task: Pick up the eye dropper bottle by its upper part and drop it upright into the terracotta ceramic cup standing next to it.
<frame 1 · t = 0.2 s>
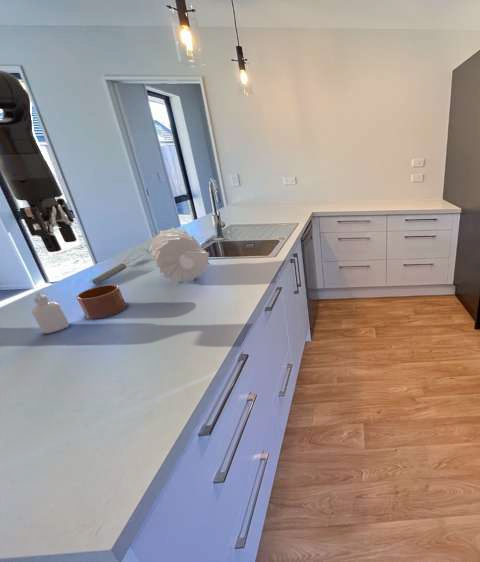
hand: (63, 246, 73), 27 cm above the worktop, tool pointing down, fingers open, 8 cm apart
spiral staircase: (185, 274, 126), on the worktop
kitchen whisk: (126, 271, 131), on the worktop
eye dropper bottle: (57, 329, 89), on the worktop
cup: (106, 310, 98), on the worktop
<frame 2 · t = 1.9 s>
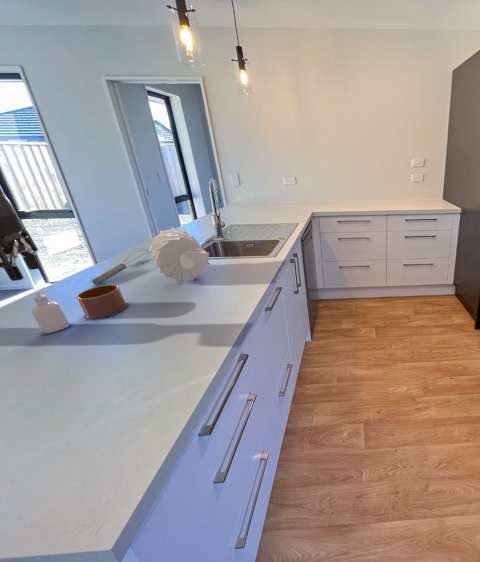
hand: (27, 274, 81), 18 cm above the worktop, tool pointing down, fingers open, 8 cm apart
nothing on the worktop moved.
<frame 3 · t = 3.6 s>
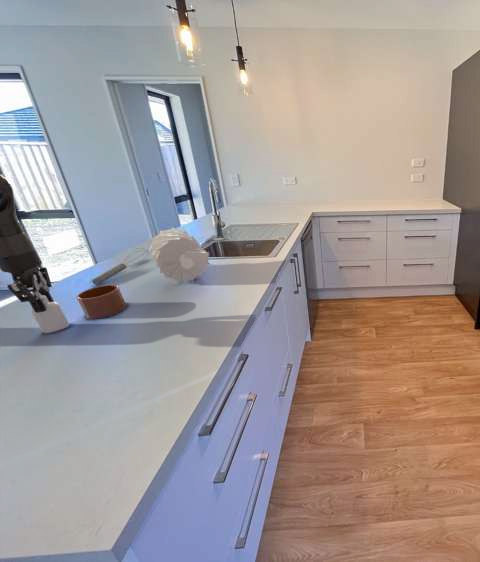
hand: (45, 307, 86), 7 cm above the worktop, tool pointing down, fingers closed on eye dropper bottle, 4 cm apart
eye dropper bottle: (57, 329, 89), on the worktop, touching gripper
everything else where it was.
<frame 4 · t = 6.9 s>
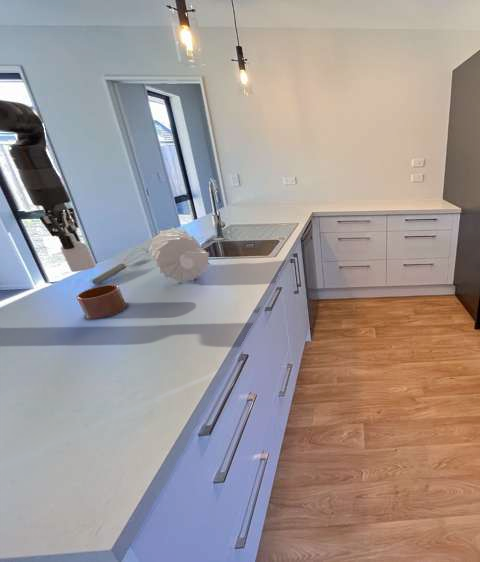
hand: (73, 246, 88), 22 cm above the worktop, tool pointing down, fingers closed on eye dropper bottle, 4 cm apart
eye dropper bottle: (84, 269, 91), point 15 cm above the worktop, touching gripper
everything else where it was.
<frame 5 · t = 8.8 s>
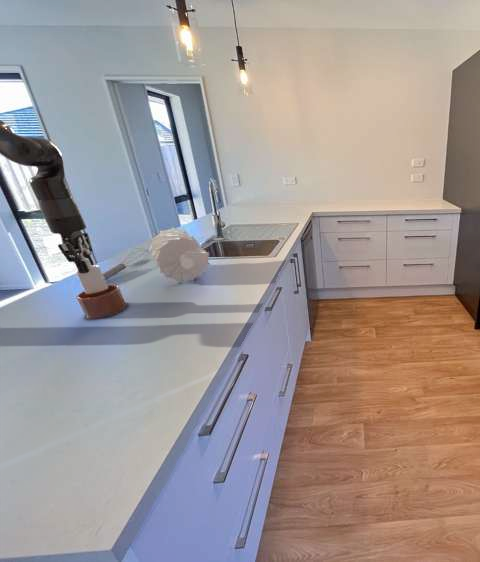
hand: (87, 269, 92), 14 cm above the worktop, tool pointing down, fingers closed on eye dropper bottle, 4 cm apart
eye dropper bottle: (97, 291, 95), point 7 cm above the worktop, touching gripper
everything else where it was.
when the fingers open (12 cm above the worktop, at t = 10.0 s): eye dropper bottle drops 3 cm, resting on cup.
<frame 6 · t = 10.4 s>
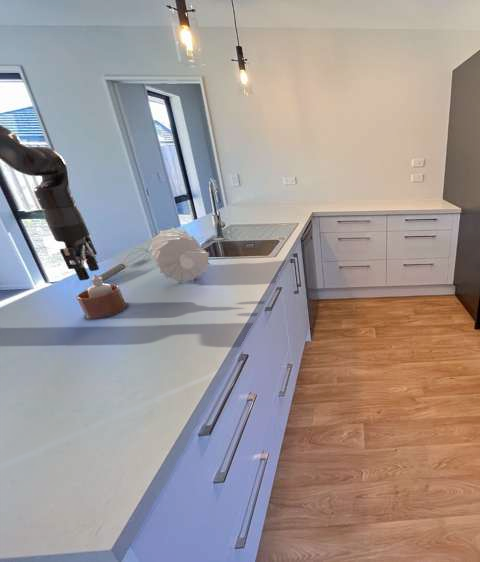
hand: (90, 274, 93), 13 cm above the worktop, tool pointing down, fingers open, 7 cm apart
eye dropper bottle: (105, 308, 98), point 1 cm above the worktop, touching cup
everything else where it was.
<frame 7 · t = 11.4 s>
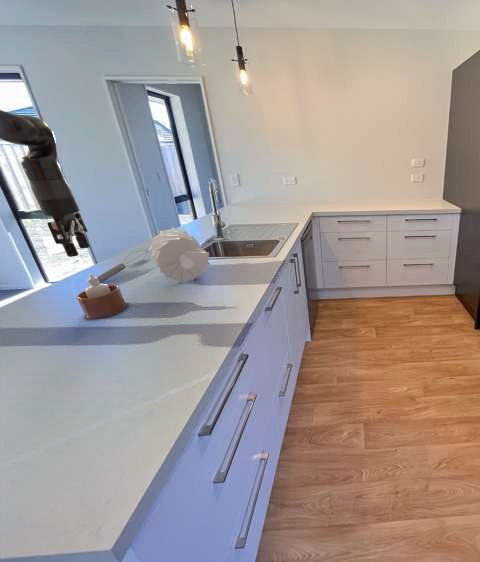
hand: (79, 251, 90), 20 cm above the worktop, tool pointing down, fingers open, 8 cm apart
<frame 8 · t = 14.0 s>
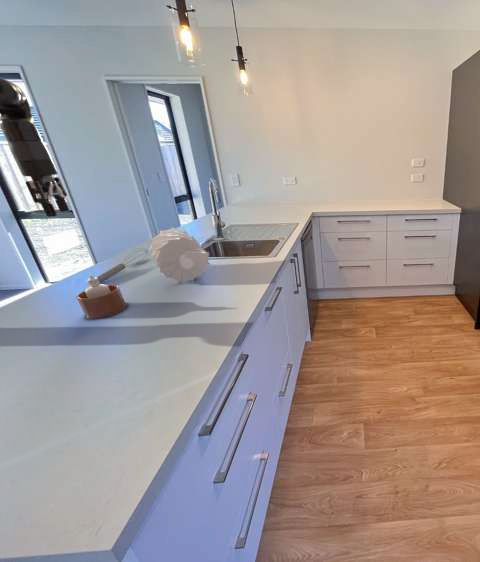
hand: (59, 213, 94), 30 cm above the worktop, tool pointing down, fingers open, 8 cm apart
nothing on the worktop moved.
at the end: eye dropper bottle inside the target area in the cup (0.2 cm from its centre), point 0.4 cm above the cup's base; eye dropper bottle tilted 0°; the gripper is holding nothing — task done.
